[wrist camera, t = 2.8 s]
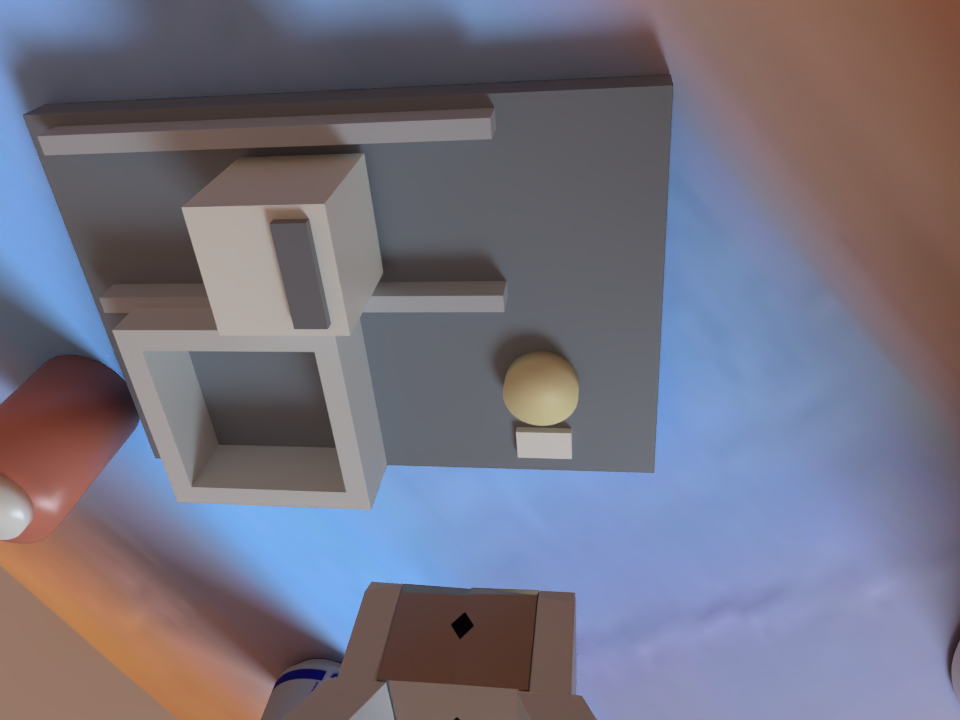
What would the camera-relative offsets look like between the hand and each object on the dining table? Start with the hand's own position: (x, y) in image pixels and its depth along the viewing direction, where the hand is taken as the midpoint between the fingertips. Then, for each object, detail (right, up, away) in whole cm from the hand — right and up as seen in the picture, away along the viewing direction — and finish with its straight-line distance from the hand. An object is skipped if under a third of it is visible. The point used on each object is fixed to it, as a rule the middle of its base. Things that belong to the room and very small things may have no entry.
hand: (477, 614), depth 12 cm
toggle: (-5, +8, +14) cm, 17 cm away
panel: (-4, +6, +17) cm, 18 cm away
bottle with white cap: (-16, +2, +21) cm, 27 cm away
